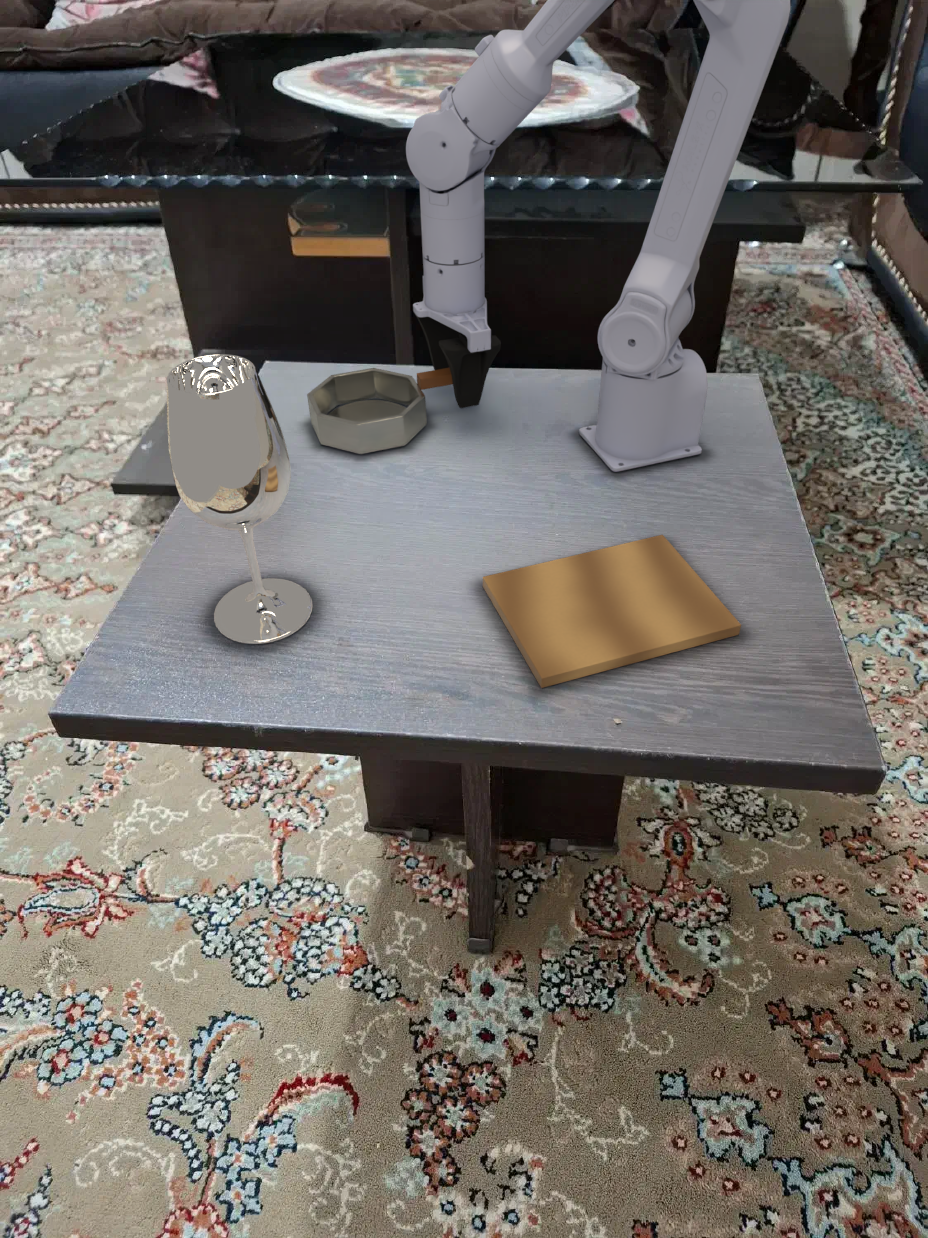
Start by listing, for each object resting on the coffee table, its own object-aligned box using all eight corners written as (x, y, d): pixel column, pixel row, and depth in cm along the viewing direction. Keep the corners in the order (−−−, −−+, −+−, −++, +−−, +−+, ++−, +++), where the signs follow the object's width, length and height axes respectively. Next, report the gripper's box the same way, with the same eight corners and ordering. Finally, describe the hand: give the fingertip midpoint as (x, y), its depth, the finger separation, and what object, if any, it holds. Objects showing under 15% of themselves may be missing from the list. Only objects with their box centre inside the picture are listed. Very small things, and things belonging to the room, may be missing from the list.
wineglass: (199, 600, 71) (133, 363, 57) (292, 568, 73) (249, 336, 60) (231, 660, 66) (166, 415, 52) (330, 623, 68) (292, 383, 55)
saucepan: (463, 381, 97) (462, 343, 95) (499, 429, 90) (499, 388, 87) (304, 409, 93) (299, 370, 90) (328, 462, 86) (322, 421, 83)
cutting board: (661, 543, 75) (662, 534, 75) (739, 634, 67) (741, 624, 66) (482, 586, 71) (482, 576, 71) (541, 688, 63) (541, 678, 62)
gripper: (390, 234, 87) (399, 365, 96) (436, 289, 76) (441, 429, 85) (459, 225, 88) (461, 354, 97) (513, 277, 78) (510, 416, 87)
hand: (456, 389), depth 92 cm, fingers open, 6 cm apart
